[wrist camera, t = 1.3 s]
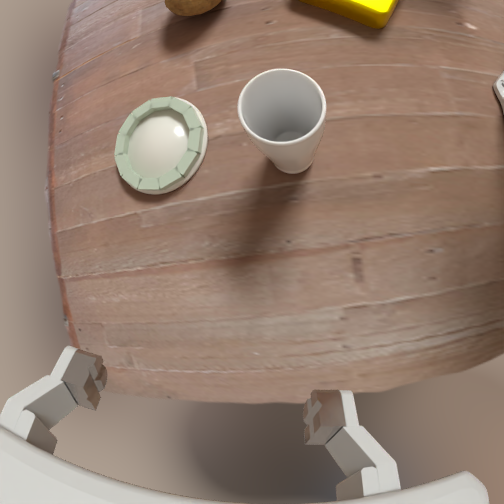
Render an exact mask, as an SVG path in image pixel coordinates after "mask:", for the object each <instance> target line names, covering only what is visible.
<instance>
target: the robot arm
mask: <svg viewBox="0 0 504 504" xmlns="http://www.w3.org/2000/svg"><path fill="white" fill-rule="evenodd" d="M493 88H494V91H495V93H496V95H497V97H498V99H499V101H500V103H501V105H502V108H503V113H504V71H503V72H502V74H501V75H500V76H499V78H498V79H497V80H496V82H495V83H494V85H493ZM102 363H103V359H102V356H100V355H96V354H93V353H90V352H86V351H83V350H80V349H77V348H74V347H71V346H67V347H66V348H65V349H64V351H63V352H62V354H61V356H60V358H59V360H58V362H57V364H56V365H55V367H54V369H53V371H52V373H51V375H50V376H48V375H47V376H45V377H43V378H41V379H40V380H38V381H37V382H35V383H33V384H32V385H30V386H29V387H27V388H25V389H23V390H22V391H20V392H19V393H17V394H15V395H14V396H12V397H10V398H9V399H8V400H7V402H6V404H5V406H4V408H3V411H2V413H1V415H0V504H248V503H234V502H222V501H214V500H206V499H199V498H192V497H187V496H181V495H175V494H171V493H166V492H161V491H157V490H152V489H148V488H144V487H140V486H137V485H133V484H130V483H126V482H123V481H119V480H116V479H113V478H110V477H107V476H104V475H101V474H99V473H96V472H93V471H90V470H88V469H85V468H83V467H80V466H78V465H75V464H73V463H70V462H68V461H66V460H63V459H61V458H59V457H57V456H54V455H53V453H54V449H55V446H56V443H57V439H56V437H55V436H54V435H53V434H52V433H51V432H50V431H49V430H50V429H51V428H52V427H53V426H54V425H56V424H57V423H58V422H59V421H60V420H62V419H63V418H64V417H65V416H67V415H68V414H69V413H70V412H71V411H73V410H74V409H75V408H76V407H77V406H78V405H80V406H83V407H86V408H89V409H92V410H96V409H97V406H98V404H99V401H100V398H101V397H100V394H99V392H100V391H101V390H103V389H104V388H105V385H106V382H107V370H106V367H105V366H104V365H102ZM303 421H304V422H305V423H306V424H307V425H308V426H307V427H306V428H305V430H304V435H305V444H309V445H310V444H311V445H314V444H315V445H325V447H326V448H327V449H328V451H329V452H330V454H331V455H332V456H333V458H334V459H335V461H336V462H337V464H338V465H339V467H340V468H341V469H342V470H343V472H344V473H345V475H346V476H347V479H345V480H343V481H342V482H340V483H338V484H337V485H336V495H337V501H332V502H321V503H307V504H489V498H488V493H487V490H486V488H485V486H484V485H483V484H482V483H481V482H480V481H479V480H478V479H477V478H476V477H475V476H474V475H472V474H471V473H470V472H468V471H460V472H457V473H455V474H452V475H449V476H446V477H443V478H440V479H437V480H434V481H431V482H428V483H424V484H421V485H418V486H414V487H410V488H406V489H402V490H401V487H400V481H399V476H398V470H397V465H396V462H395V461H394V460H393V459H392V458H391V456H390V455H389V454H388V453H387V452H386V451H385V450H384V449H383V448H382V447H381V446H380V444H379V443H378V442H377V441H376V440H375V439H374V438H373V437H372V436H371V435H370V434H369V433H368V431H367V430H366V429H365V428H364V427H363V426H359V422H358V417H357V412H356V407H355V402H354V397H353V393H352V391H350V390H313V391H312V393H311V398H310V399H308V400H307V401H306V403H305V405H304V409H303Z"/></svg>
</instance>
